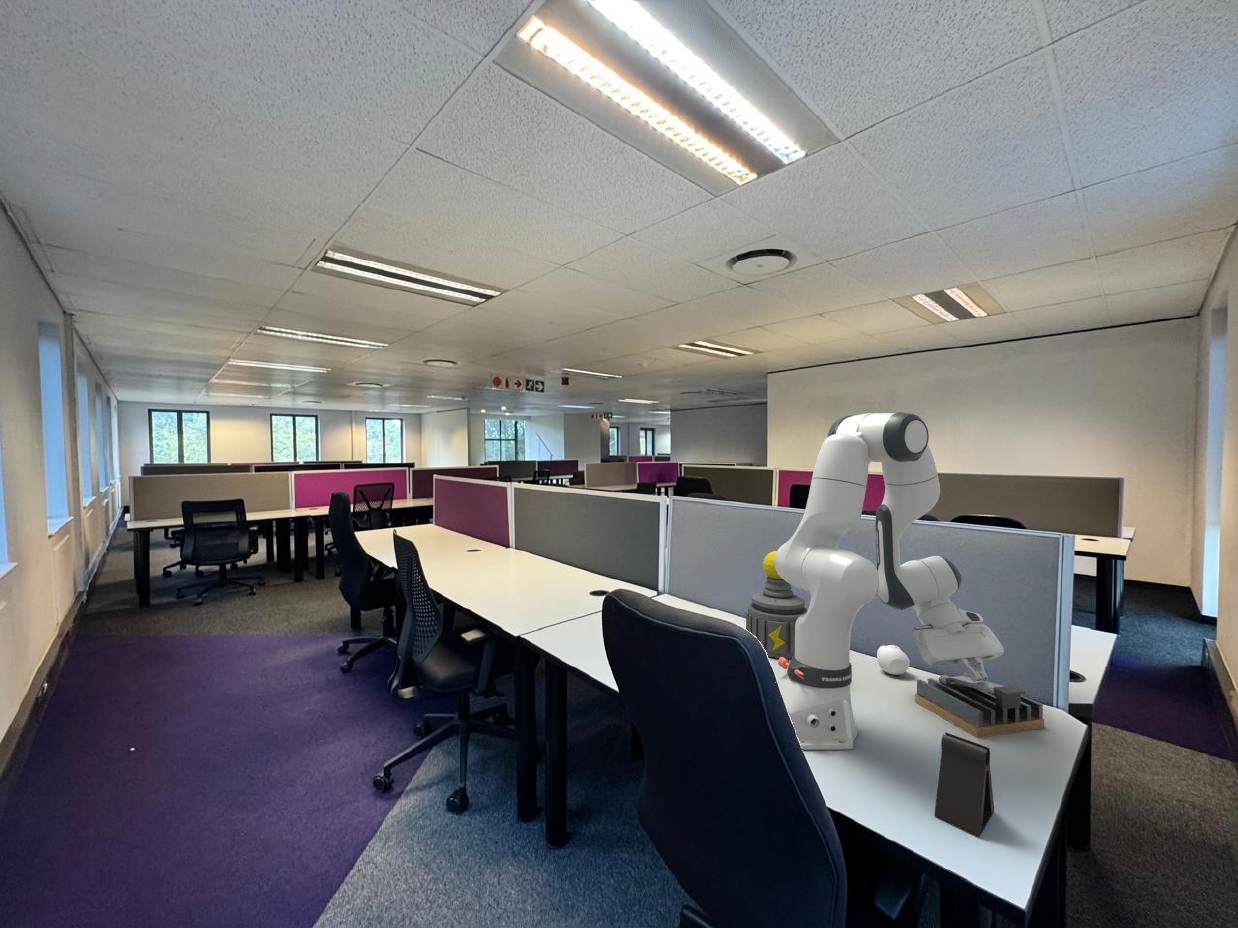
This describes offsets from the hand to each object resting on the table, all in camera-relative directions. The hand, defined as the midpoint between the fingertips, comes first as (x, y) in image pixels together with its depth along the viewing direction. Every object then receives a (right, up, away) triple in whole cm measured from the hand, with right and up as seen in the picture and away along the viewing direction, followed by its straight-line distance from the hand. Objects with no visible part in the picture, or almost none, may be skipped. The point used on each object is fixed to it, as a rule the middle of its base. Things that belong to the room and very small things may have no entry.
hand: (981, 679), depth 113 cm
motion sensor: (-8, -8, +23) cm, 25 cm away
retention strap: (-1, -2, 0) cm, 2 cm away
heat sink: (-1, -8, +1) cm, 8 cm away
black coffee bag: (-26, -8, -32) cm, 42 cm away
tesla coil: (-33, -8, +40) cm, 53 cm away
